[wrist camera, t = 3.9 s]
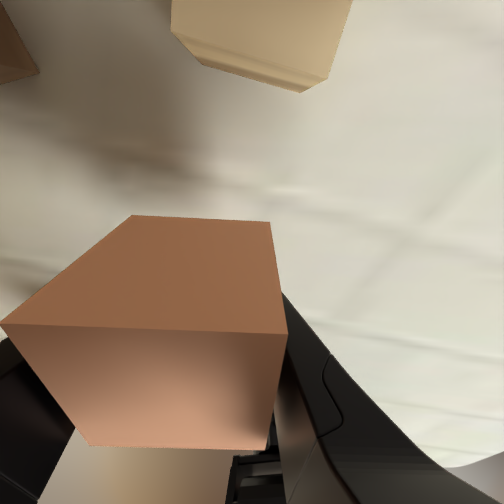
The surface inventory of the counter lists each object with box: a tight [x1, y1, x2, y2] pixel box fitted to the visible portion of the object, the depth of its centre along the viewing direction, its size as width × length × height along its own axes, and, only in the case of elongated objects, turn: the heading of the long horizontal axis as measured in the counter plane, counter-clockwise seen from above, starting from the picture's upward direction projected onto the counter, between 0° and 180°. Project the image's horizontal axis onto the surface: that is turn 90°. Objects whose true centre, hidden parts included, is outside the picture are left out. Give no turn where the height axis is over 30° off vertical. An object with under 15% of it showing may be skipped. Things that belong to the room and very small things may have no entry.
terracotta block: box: [0, 215, 288, 450], centre depth 7 cm, size 5×5×5 cm
